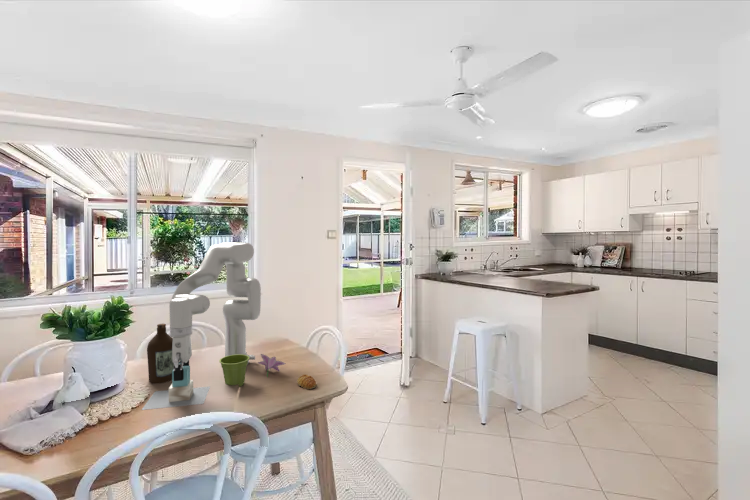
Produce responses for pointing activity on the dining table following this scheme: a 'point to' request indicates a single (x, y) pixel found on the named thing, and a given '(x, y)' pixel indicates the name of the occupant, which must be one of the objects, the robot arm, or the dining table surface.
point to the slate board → (162, 401)
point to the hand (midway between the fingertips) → (181, 375)
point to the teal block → (185, 380)
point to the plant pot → (234, 368)
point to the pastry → (306, 381)
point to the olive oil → (160, 356)
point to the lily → (270, 363)
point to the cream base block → (181, 392)
